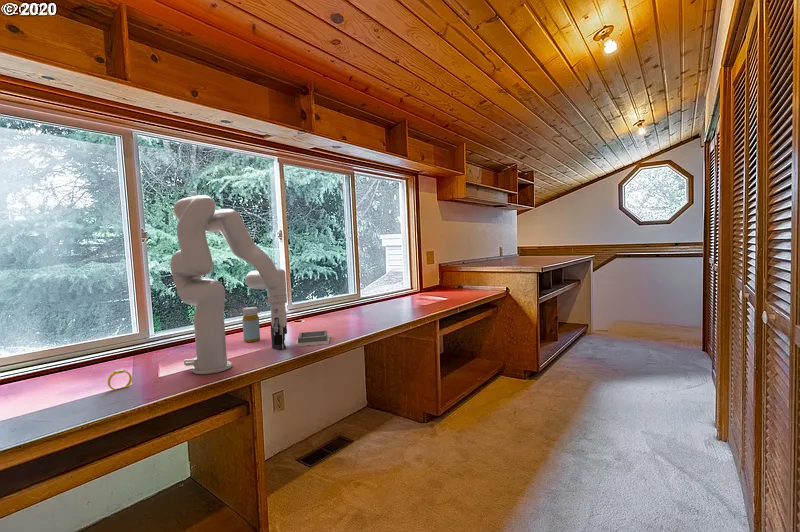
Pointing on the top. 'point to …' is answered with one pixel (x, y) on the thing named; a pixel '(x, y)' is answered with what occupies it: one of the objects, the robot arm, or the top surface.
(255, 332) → the bottle
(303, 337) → the dock
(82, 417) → the top surface
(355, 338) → the top surface
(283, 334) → the battery
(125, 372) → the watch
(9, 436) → the top surface
